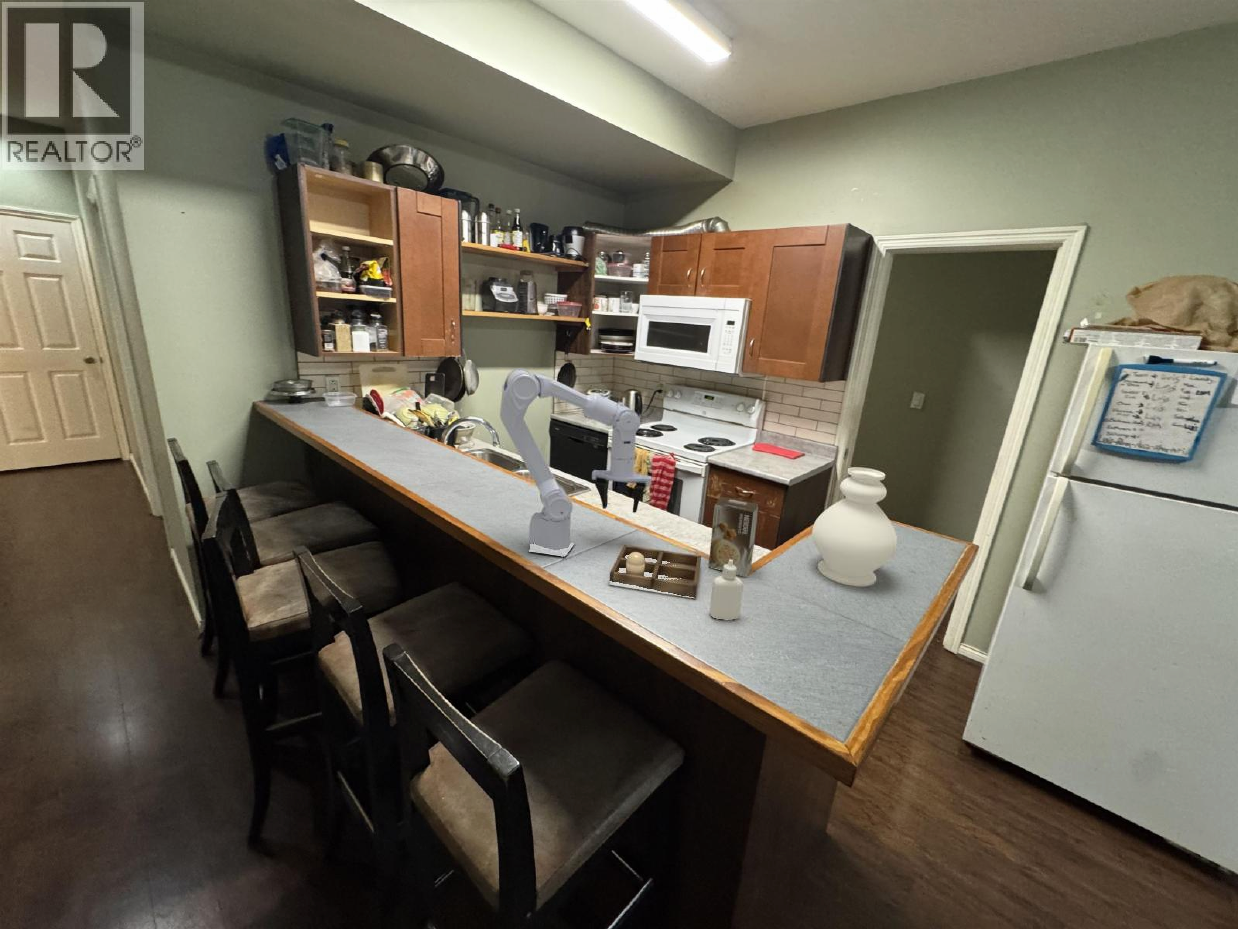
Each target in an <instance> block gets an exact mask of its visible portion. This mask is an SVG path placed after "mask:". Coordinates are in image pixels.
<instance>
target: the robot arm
mask: <svg viewBox="0 0 1238 929" xmlns="http://www.w3.org/2000/svg"><path fill="white" fill-rule="evenodd" d="M606 396H607V395H606V394H604V393H602V392H599V393H596V392H594V393H591V394H588V395H586V394H584V393H582V392H581V391H578V390H576V389H574V388H572V387H570V386H568V385H566V384H564V383H562V382H559V381H558V380H555V379H554V378H552V377H549V376H545V375H543V374H539V373H536V372H532V374H531V373H530V372H529V370H527V369H524V368H515V369H513V370H511V371H510V372H508V375H507V376H506V378H505V380H504V383H503V384H502V393H501V399H500V400H501V401H500V409H499V410H500V411H499V416H500V420H501V422H502V425H503V426H504V428H505V429H506V432H507V434H508V435H509V437H510V440H511V441H512V443H513V445H514V447H515V449H516V450H517V452H518V454H519V455H520V457H521V459H522V461H523V463H524V466H525V467H526V469H527V471H528V473H529V474H530V476H531V478H532V479H533V482H534V483H535V486H536V487H537V489H538V491H539V498H540V502H541V503H542V504H543V508H542V509H541V511H540V512H538V511H537V512H534V513H533V514H532V516H531V517H530V522H529V536H528V537H529V539H528V540H529V545H530V544H534V543H535V544H536V545H539V546H542V547H544V548H549V549H553V550H560V549H564V548H568V547H569V545H570V542H571V516H572V511H573V502H572V500H571V499H570V497H569V496H568V495H567V493H566V490H565V488H564V487H563V486H562V485H561V484H559V483H558V482H557V480H556V479H555V476H554V475H553V473H552V470H551V469H550V467H549V466H548V463H547V461H546V459H545V458H544V455H543V454H542V452H541V450H540V448H539V446H538V444H537V442H536V440H535V438H534V436H533V435H532V433H531V431H530V429H529V426H528V425H527V423H526V421H525V416H526V413H527V411H528V409H529V406H530V405H531V404H532V403H533V402H534V400H535V399H536V398H537V397H539V399H546V398H549V397H553V398H556V399H558V400H561V401H563V402H565V403H568V404H570V405H573V406H576V407H578V408H580V409H582V411H583V415H584V417H587V418H588V419H589V418H590V419H591V420H594V421H596V422H598V423H601V424H602V425H605V426H607V427H612V432H611V433H612V435H611V436H612V437H611V447H610V466H609V467H610V470H604V469H602V470H597V469H594V470H593V471H592V472H591V480H595V482H594V486H595V488H596V490H597V492H598V494H599V497H600V500H601V505H602V509H603V510H606V508H607V507H608V502H609V501H608V500H609V499H608V497H609V496H608V493H609V485H610V484H609V483H610V481H611V482H619V483H627V484H628V483H629V484H635V485H634V487H633V505H632V506H633V507H632V513H634V514H636V513H637V510H638V507H639V504H640V503H639V502H640V500H641V498H642V496H643V493H644V491H645V490H646V488H647V487H651V484H652V476H651V475H650V476H649V475H644V474H640V473H637V472H635V470H634V469H635V457H636V455H635V454H636V436H637V435H636V434H637V431H638V430H639V428H640V427H641V423H642V421H640V417H639V415H638V413H637V412H636V411H634V410H633V409H631V408H629V407H628V406H626V405H624V403H623V402H621V401H617V402H616V401H614V400H611V399H610V398H607V397H606Z"/></svg>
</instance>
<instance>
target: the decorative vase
mask: <svg viewBox="0 0 1238 929" xmlns="http://www.w3.org/2000/svg"><path fill="white" fill-rule="evenodd" d="M847 474H848V475H850V476H848V477H846V478H844V479H843V480H842V481H841V483H840V485H839V489H840V491H841V493H842V495H844V496H845V497H844V498H842V499H840V500H838V501H836V502H835V503H833V504H832V505H831V506H830V505H829V507H828V508H826V509H825V510H824V511H823V512H821V514H820V515H819V516H818V517H817V518H816V520H815V521H814V524H813V526H812V530H811V535H812V536H811V537H812V541H813V544H814V546H815V547H816V549H817V551H818V553H819V554H820V556H821V557H822V560H821V561H819V562H818V565H817V568H818V571H819V572H820V574H822V575H823V576H824V577H826V578H827V579H829V580H831V581H834V582H835V583H838V584H842V585H846V586H850V587H861V588H862V587H864V588H865V587H868V586H869V587H870V586H872V585H874V584H875V583H876V581H877V575H876V573H875V572H874V571H876V570H878V569H879V568H880V567H883V566H884V565H886V564H887V563H888V562H889V561H891V560H892V559H893V557H895V555H896V552H897V548H898V536H897V533H896V530H895V528H894V526H893V524H892V523H891V520H890V519H889V518H888V516H887V514H885V512H884V511H883V510H882V508H881V507H880V506H879V504H878V503H879V502H881V501H882V500H884V499H885V498H886V497H887V491H888V490H887V488H886V487H885V485H884V483H882V482H881V481H883V480H885V479H886V474H885V473H884V472H883V471H880V470H878V469H873V468H868V467H858V466H854V467H852V466H851V467H848V468H847Z"/></svg>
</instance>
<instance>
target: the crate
mask: <svg viewBox="0 0 1238 929" xmlns="http://www.w3.org/2000/svg"><path fill="white" fill-rule="evenodd" d="M633 552H639V553H641V554H642V555H643V556H644V558H652V559H656V560H657V562H656V563H653V562H646V561H645V568H644V572H649V573H653V574H652V577H645V576H638V575H632V574H626V573H619V572H618V571H619V568H626V562H627V559H626V558H625V556H626V555H629V554H631V553H633ZM662 561H667V562H670V563H667V564H662ZM701 562H702V555H698V554H697V555H696V554H689V553H682V552H675V551H670V550H665V549H664V550H661V549H655V548H649V547H640V546H634V545H629V544H623V546H622V548H621V550H620V553H619V554H618V556H617V558H616V560H615V562H614V564H613V566H612V568H611V570H610V571H609V581H612V582H619V583H623V584H629V585H636V586H639V587H643V588H647V589H654V590H657V591H661V592H668V593H673V594H677V595H681V596H689V597H694V598H696V599H697V592H698V587H699V586H698V585H699V580H700V571H701ZM673 565H674V566H673ZM675 565H676V566H675ZM658 575H665V576H668V577H666V578H677V579H678V580H677V579H674V580H673V579H671V580H669V579H668V580H667V579H666V580H664V579H658ZM661 578H662V577H661ZM664 578H665V577H664ZM680 578H681V579H680ZM698 579H699V580H698Z"/></svg>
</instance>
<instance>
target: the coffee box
mask: <svg viewBox="0 0 1238 929" xmlns="http://www.w3.org/2000/svg"><path fill="white" fill-rule="evenodd" d="M759 506H760V504H759V503H756V502H755V503H754V502H751V501H745V500H741V499H737V498H736V499H735V498H732V497H731V498H730V497H725V496H721V497H720V498H719V499H718V500H717V501H716V503H715V504H714V508H713V516H712V527H711V528H712V529H711V538H710V547H709V558H708V568H709V567H712V568H717V569H720V570H723V567H724V565H726V564H728V562H729V560H733V565H734V566H736V568H737V569H736V576H738V575H741V576H740V577H742V576H743V577H742V578H747V577H748V575H749V573H750V571H751V569H752V564H753V557H754V556H753V555H754V549H755V548H754V547H755V540H756V530H757V523H758V516H759V508H760V507H759ZM712 568H711V569H712Z"/></svg>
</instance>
